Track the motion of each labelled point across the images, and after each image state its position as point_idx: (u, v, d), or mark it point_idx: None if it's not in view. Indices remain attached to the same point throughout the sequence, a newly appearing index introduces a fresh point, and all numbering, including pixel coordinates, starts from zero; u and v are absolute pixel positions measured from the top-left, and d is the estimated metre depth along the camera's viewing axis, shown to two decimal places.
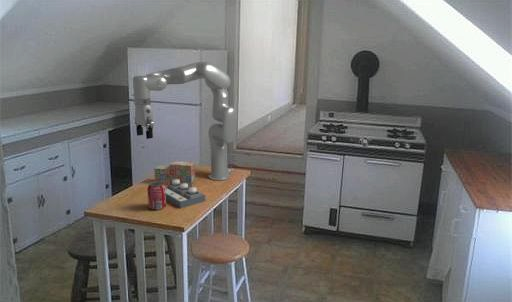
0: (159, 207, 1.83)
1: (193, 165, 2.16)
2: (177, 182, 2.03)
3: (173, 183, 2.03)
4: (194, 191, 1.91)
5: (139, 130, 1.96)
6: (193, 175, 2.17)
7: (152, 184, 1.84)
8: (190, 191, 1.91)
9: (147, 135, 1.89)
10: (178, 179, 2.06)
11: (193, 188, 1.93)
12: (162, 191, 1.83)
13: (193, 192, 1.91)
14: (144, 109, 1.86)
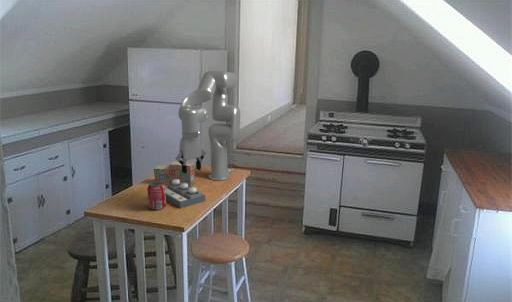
0: (159, 207, 1.83)
1: (192, 165, 2.16)
2: (177, 182, 2.03)
3: (173, 183, 2.03)
4: (194, 191, 1.91)
5: None
6: (192, 175, 2.17)
7: (152, 184, 1.84)
8: (190, 191, 1.91)
9: None
10: (178, 179, 2.06)
11: (193, 188, 1.93)
12: (162, 191, 1.83)
13: (193, 192, 1.91)
14: None
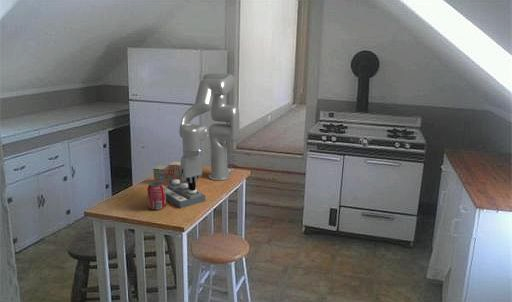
0: (159, 207, 1.83)
1: None
2: (177, 182, 2.03)
3: (173, 183, 2.03)
4: (194, 192, 1.91)
5: None
6: None
7: (152, 184, 1.84)
8: (190, 192, 1.91)
9: (194, 186, 1.92)
10: (178, 179, 2.06)
11: None
12: (162, 191, 1.83)
13: (193, 193, 1.91)
14: (200, 158, 1.90)
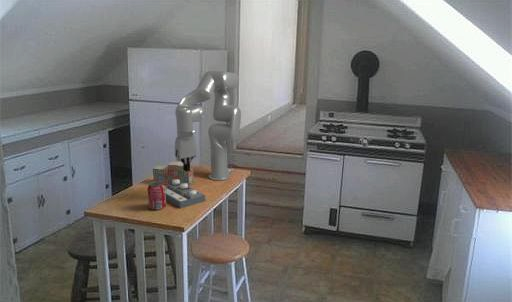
0: (159, 207, 1.83)
1: (191, 166, 2.15)
2: (177, 182, 2.03)
3: (173, 183, 2.03)
4: None
5: None
6: (191, 176, 2.16)
7: (152, 184, 1.84)
8: (190, 194, 1.91)
9: (189, 167, 1.93)
10: (178, 179, 2.06)
11: (193, 191, 1.93)
12: (162, 191, 1.83)
13: None
14: (194, 139, 1.92)
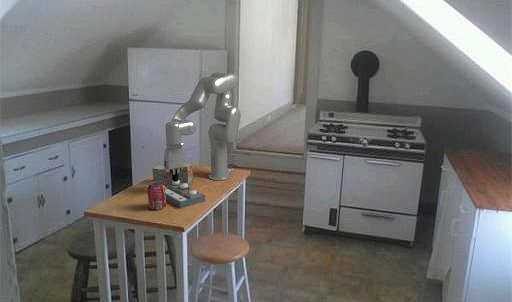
0: (159, 207, 1.83)
1: (190, 166, 2.14)
2: (177, 183, 2.03)
3: (173, 183, 2.03)
4: None
5: None
6: (190, 176, 2.15)
7: (152, 184, 1.84)
8: (190, 194, 1.91)
9: (177, 178, 2.03)
10: None
11: (193, 191, 1.93)
12: (162, 191, 1.83)
13: None
14: None
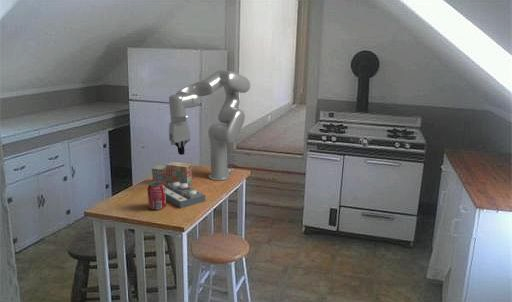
0: (159, 207, 1.83)
1: (189, 166, 2.14)
2: (177, 185, 2.03)
3: None
4: None
5: None
6: (189, 177, 2.14)
7: (152, 184, 1.84)
8: (190, 194, 1.91)
9: (183, 151, 2.04)
10: (178, 182, 2.06)
11: (193, 191, 1.93)
12: (162, 191, 1.83)
13: None
14: (187, 124, 2.02)
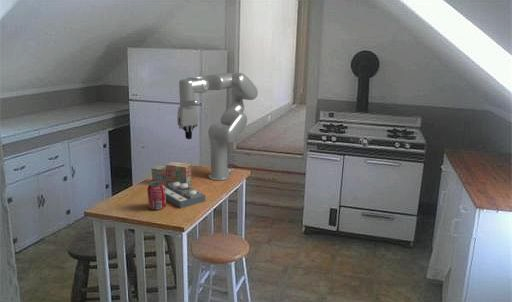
0: (159, 207, 1.83)
1: (189, 167, 2.13)
2: (177, 185, 2.03)
3: None
4: None
5: None
6: (189, 177, 2.14)
7: (152, 184, 1.84)
8: (190, 194, 1.91)
9: None
10: (178, 182, 2.06)
11: (193, 191, 1.93)
12: (162, 191, 1.83)
13: None
14: (196, 109, 2.05)
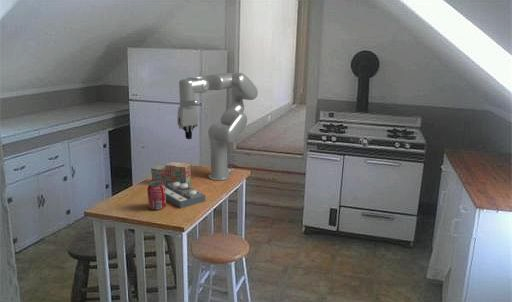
0: (159, 207, 1.83)
1: (188, 167, 2.13)
2: (177, 185, 2.03)
3: None
4: None
5: None
6: (188, 177, 2.14)
7: (152, 184, 1.84)
8: (190, 194, 1.91)
9: None
10: (178, 182, 2.06)
11: (193, 191, 1.93)
12: (162, 191, 1.83)
13: None
14: (196, 109, 2.05)
